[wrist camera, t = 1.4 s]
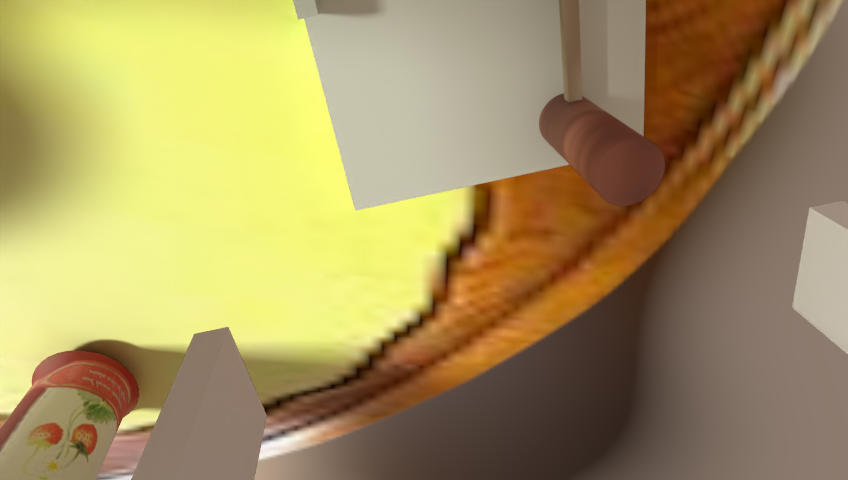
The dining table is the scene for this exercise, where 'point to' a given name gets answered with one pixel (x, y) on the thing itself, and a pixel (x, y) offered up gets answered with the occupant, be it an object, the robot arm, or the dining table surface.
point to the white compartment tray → (462, 85)
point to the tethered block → (597, 131)
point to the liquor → (67, 418)
